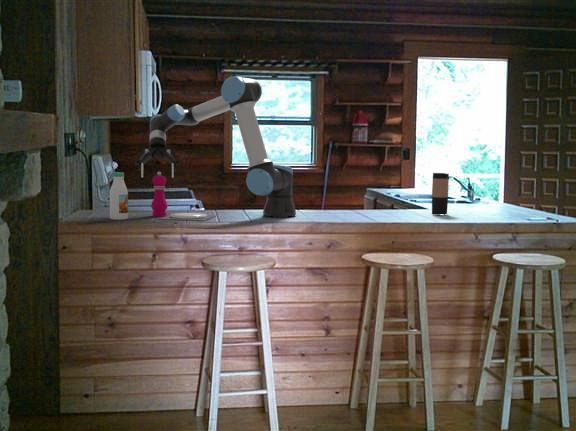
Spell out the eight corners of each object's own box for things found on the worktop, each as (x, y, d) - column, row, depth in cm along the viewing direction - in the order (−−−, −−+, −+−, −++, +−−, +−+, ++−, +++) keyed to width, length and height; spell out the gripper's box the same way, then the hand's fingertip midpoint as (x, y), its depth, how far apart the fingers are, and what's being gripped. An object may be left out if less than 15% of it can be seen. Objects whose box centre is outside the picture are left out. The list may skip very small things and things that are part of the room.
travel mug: (429, 215, 345) (431, 173, 343) (432, 213, 352) (434, 172, 350) (445, 215, 342) (447, 173, 340) (448, 214, 349) (450, 173, 347)
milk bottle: (112, 220, 303) (111, 173, 301) (107, 218, 310) (107, 172, 308) (130, 219, 307) (129, 172, 305) (125, 217, 314) (125, 172, 312)
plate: (211, 215, 323) (211, 213, 323) (200, 219, 307) (200, 217, 307) (177, 214, 326) (177, 212, 326) (165, 218, 310) (165, 216, 310)
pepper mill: (164, 217, 319) (163, 172, 317) (148, 216, 320) (148, 171, 318) (169, 215, 326) (169, 171, 324) (154, 214, 327) (154, 171, 325)
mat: (216, 216, 325) (216, 215, 325) (204, 221, 305) (204, 220, 305) (174, 215, 328) (174, 214, 328) (159, 219, 309) (159, 218, 309)
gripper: (184, 148, 342) (185, 181, 329) (130, 147, 338) (129, 181, 325) (184, 136, 336) (185, 170, 323) (130, 135, 332) (128, 169, 319)
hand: (157, 175), depth 324 cm, fingers open, 13 cm apart
